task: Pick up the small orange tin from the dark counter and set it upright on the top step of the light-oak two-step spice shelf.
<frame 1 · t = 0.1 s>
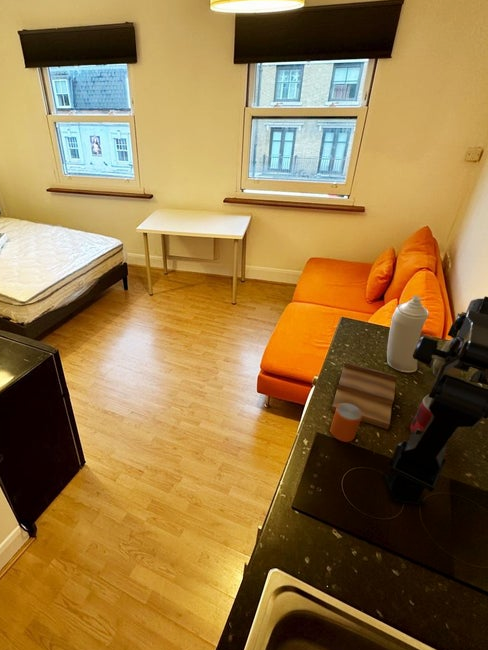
hand: (450, 373, 99), 15 cm above the worktop, tool tilted 35°, fingers open, 9 cm apart
orange tin: (342, 432, 101), on the worktop
squeeze bottle: (443, 376, 121), on the worktop
spray can: (396, 364, 126), on the worktop
canned food: (425, 434, 101), on the worktop
spice shelf: (362, 399, 112), on the worktop
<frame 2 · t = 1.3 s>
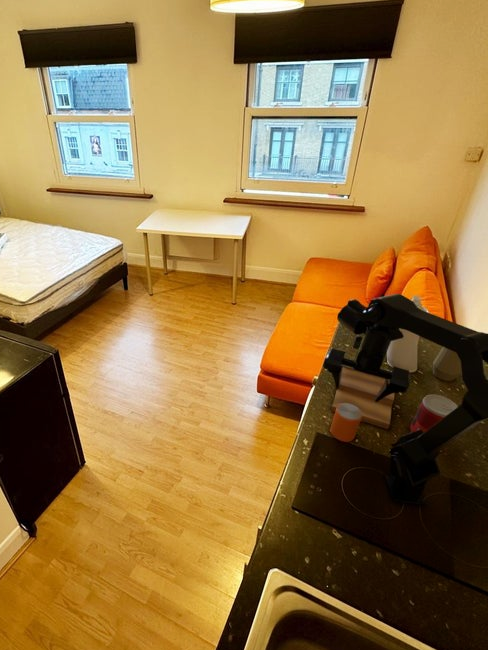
hand: (356, 394, 95), 13 cm above the worktop, tool pointing down, fingers open, 9 cm apart
nothing on the worktop moved.
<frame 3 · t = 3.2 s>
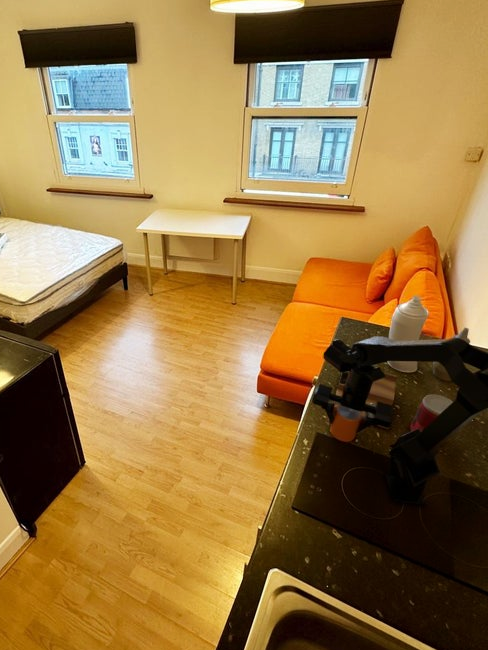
hand: (344, 427, 100), 2 cm above the worktop, tool pointing down, fingers closed on orange tin, 6 cm apart
orange tin: (342, 432, 101), on the worktop, touching gripper
everything else where it was.
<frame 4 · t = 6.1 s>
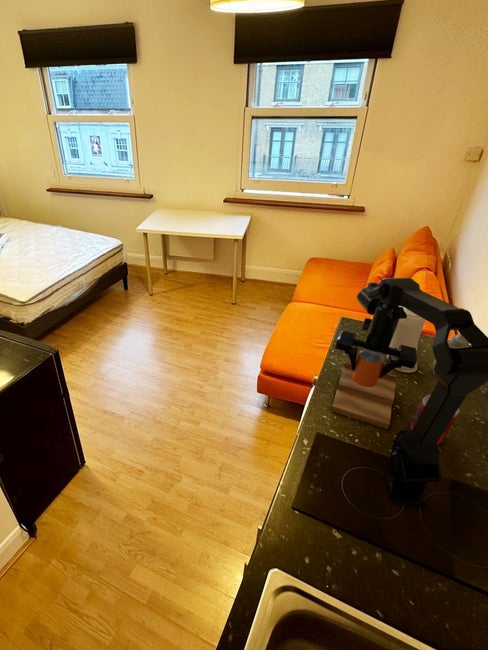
hand: (366, 373, 101), 13 cm above the worktop, tool pointing down, fingers closed on orange tin, 6 cm apart
orange tin: (364, 379, 102), point 11 cm above the worktop, touching gripper
everything else where it was.
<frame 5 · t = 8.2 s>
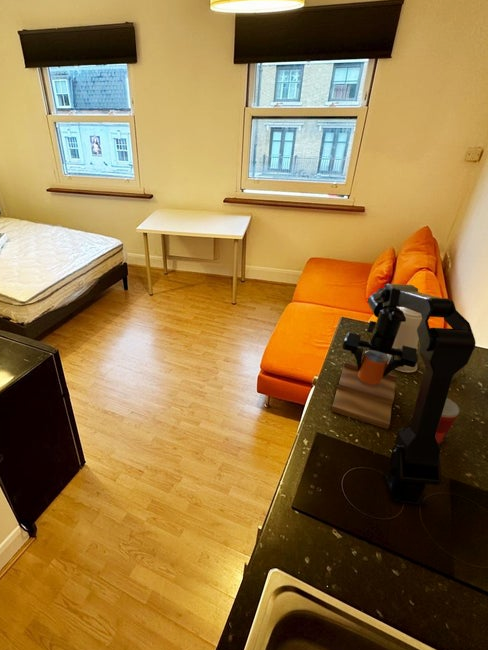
hand: (371, 372, 110), 8 cm above the worktop, tool pointing down, fingers closed on orange tin, 6 cm apart
orange tin: (369, 377, 111), point 6 cm above the worktop, touching gripper
everything else where it was.
when the fingers open (6 cm above the worktop, at t = 9.4 s): orange tin stays where it is, resting on spice shelf.
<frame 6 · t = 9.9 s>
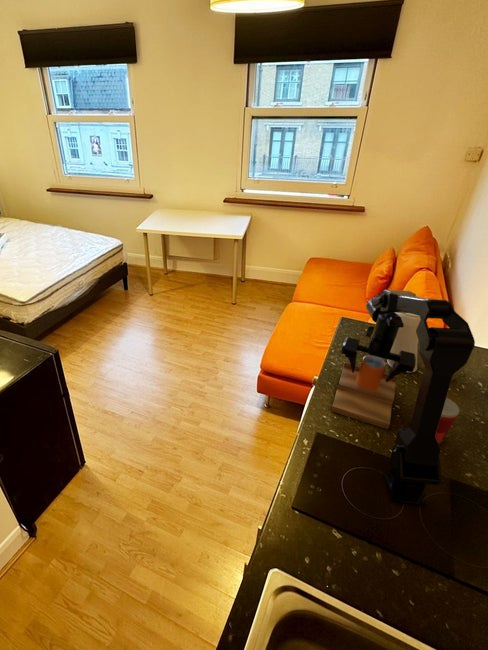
hand: (369, 376, 111), 6 cm above the worktop, tool pointing down, fingers open, 9 cm apart
orange tin: (367, 382, 112), point 4 cm above the worktop, touching spice shelf
everything else where it was.
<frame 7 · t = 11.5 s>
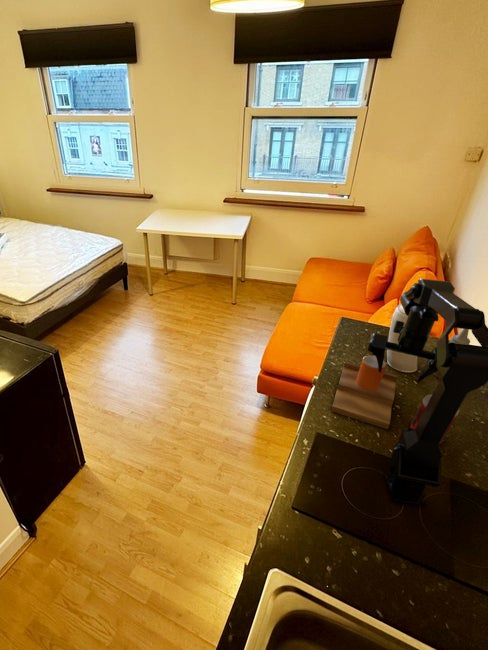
hand: (398, 376, 101), 13 cm above the worktop, tool pointing down, fingers open, 9 cm apart
nothing on the worktop moved.
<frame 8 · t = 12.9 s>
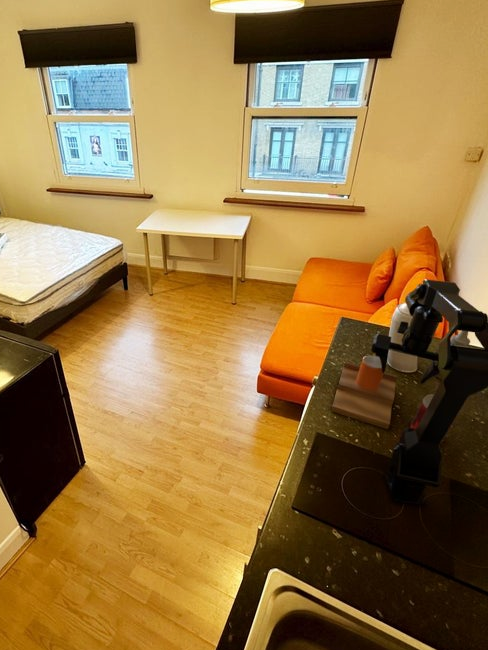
hand: (401, 377, 100), 13 cm above the worktop, tool pointing down, fingers open, 9 cm apart
nothing on the worktop moved.
at the end: orange tin inside the target area on the spice shelf (0.1 cm from its centre), point 4.0 cm above the spice shelf's base; orange tin tilted 0°; the gripper is holding nothing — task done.
